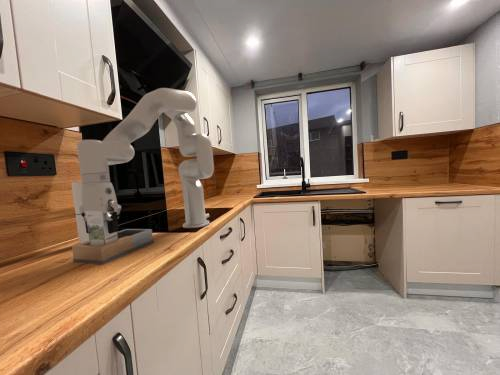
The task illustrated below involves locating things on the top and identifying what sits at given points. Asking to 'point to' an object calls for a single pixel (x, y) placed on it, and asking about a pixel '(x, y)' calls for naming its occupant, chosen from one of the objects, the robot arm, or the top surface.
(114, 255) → the shallow storage tray
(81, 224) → the cylindrical container
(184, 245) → the top surface
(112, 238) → the syrup box
